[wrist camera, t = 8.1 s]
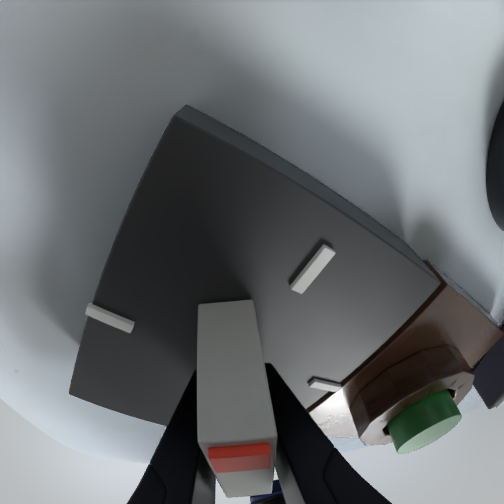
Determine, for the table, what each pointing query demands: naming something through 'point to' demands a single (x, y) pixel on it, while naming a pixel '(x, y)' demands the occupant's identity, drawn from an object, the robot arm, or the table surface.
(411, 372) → the switch block
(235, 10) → the table surface
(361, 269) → the panel
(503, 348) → the calculator
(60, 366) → the table surface
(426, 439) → the power button
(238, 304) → the dimmer knob
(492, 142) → the desk lamp
